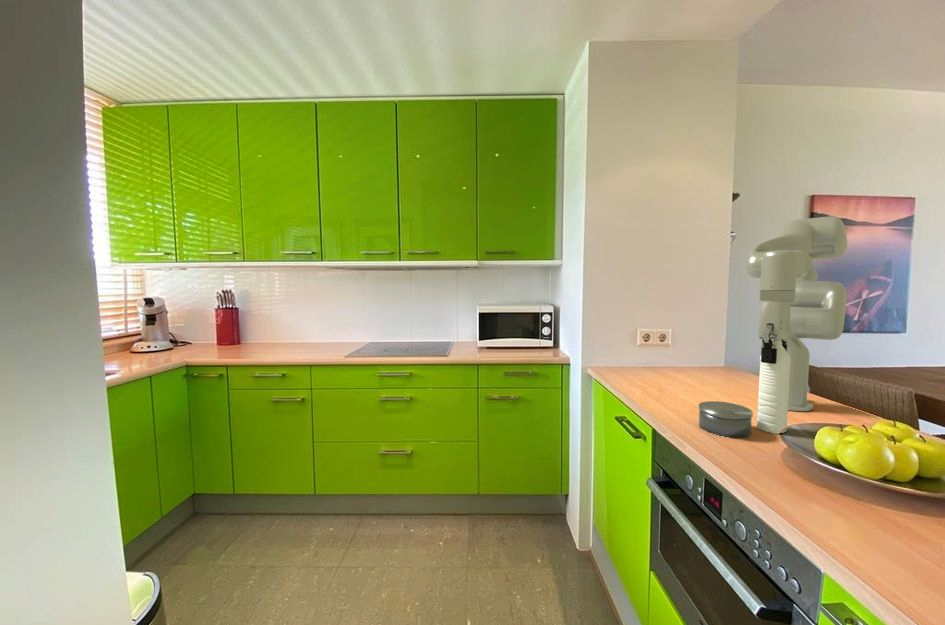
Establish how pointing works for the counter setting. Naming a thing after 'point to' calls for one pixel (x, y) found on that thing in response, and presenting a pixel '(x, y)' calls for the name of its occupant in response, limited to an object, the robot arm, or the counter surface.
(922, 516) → the counter surface
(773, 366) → the water bottle
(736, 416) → the cake tin
